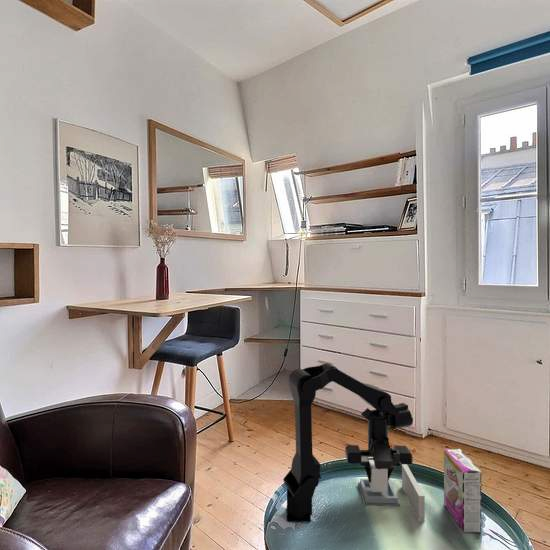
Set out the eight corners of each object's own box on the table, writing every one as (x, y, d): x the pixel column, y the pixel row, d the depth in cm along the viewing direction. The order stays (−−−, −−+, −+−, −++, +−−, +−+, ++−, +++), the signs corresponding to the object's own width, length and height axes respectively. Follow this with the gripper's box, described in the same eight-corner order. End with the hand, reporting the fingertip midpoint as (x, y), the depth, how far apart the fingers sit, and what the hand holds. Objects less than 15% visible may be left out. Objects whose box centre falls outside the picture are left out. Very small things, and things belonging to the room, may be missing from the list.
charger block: (372, 491, 107) (372, 467, 106) (368, 482, 111) (368, 459, 111) (387, 492, 107) (387, 468, 106) (383, 482, 111) (383, 459, 111)
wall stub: (418, 521, 98) (418, 495, 97) (401, 486, 113) (401, 464, 112) (424, 521, 98) (424, 495, 97) (406, 486, 113) (406, 464, 112)
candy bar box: (442, 504, 104) (442, 448, 104) (460, 504, 104) (460, 448, 104) (462, 533, 93) (463, 471, 92) (482, 533, 93) (482, 471, 92)
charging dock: (364, 505, 104) (364, 498, 104) (358, 483, 114) (358, 477, 114) (400, 505, 104) (400, 499, 104) (390, 484, 114) (390, 478, 114)
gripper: (350, 444, 101) (350, 499, 101) (419, 444, 100) (419, 500, 100) (344, 425, 112) (344, 475, 112) (406, 426, 111) (406, 476, 112)
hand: (377, 482), depth 109 cm, fingers closed on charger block, 4 cm apart
